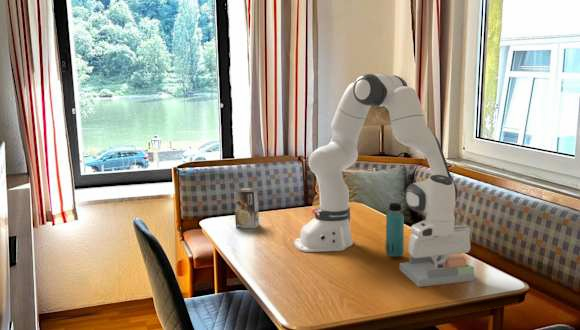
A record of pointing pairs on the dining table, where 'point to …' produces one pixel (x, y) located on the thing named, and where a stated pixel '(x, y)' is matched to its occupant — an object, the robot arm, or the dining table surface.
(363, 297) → the dining table surface
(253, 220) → the coffee box
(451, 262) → the block
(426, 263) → the tray
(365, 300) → the dining table surface
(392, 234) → the beverage bottle
